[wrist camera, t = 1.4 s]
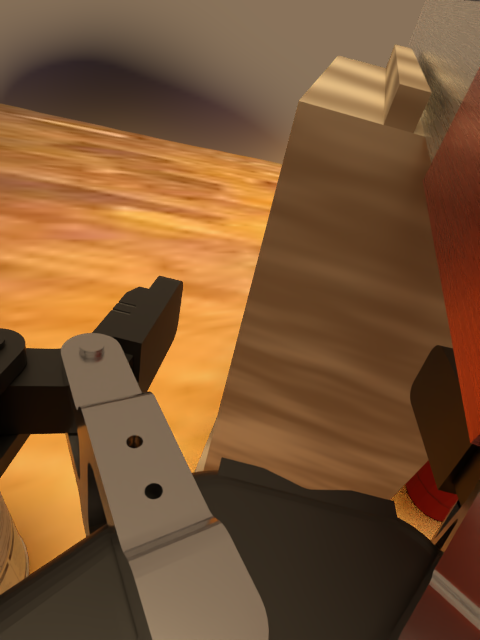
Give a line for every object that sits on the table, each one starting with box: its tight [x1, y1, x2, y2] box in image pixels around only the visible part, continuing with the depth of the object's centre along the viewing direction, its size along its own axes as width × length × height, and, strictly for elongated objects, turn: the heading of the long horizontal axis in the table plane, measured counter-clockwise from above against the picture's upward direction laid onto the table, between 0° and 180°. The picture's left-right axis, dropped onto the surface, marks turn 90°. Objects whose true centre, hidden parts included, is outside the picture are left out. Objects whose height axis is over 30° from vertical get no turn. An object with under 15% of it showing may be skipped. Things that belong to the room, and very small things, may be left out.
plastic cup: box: [406, 460, 458, 521], centre depth 36 cm, size 11×11×12 cm
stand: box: [195, 45, 453, 500], centre depth 28 cm, size 16×14×33 cm
